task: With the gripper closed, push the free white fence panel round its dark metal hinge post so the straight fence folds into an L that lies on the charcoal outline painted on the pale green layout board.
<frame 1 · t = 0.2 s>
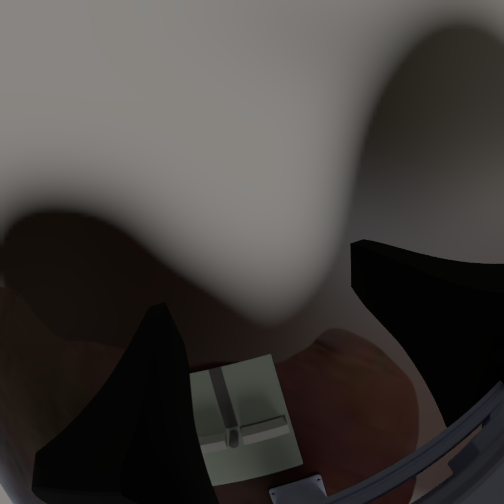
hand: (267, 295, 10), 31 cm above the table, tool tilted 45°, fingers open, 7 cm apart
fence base: (234, 432, 34), resting on layout board
layout board: (211, 430, 34), on the table
fence panel: (193, 446, 30), point 3 cm above the table, hinge at 0.0°
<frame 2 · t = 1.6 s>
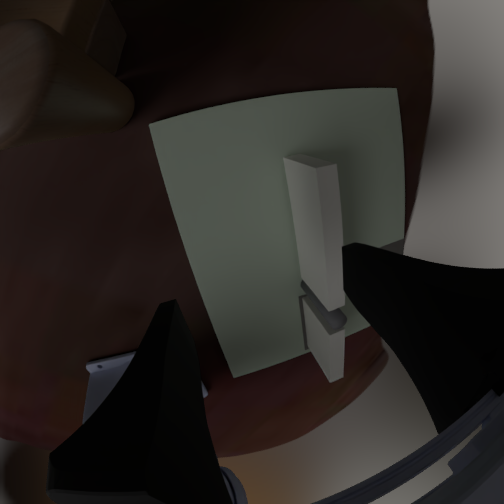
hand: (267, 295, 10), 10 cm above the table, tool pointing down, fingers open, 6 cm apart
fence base: (303, 278, 23), resting on layout board
layout board: (311, 241, 22), on the table
fence panel: (316, 231, 17), point 3 cm above the table, hinge at 0.0°
wooden toy: (36, 83, 12), on the table
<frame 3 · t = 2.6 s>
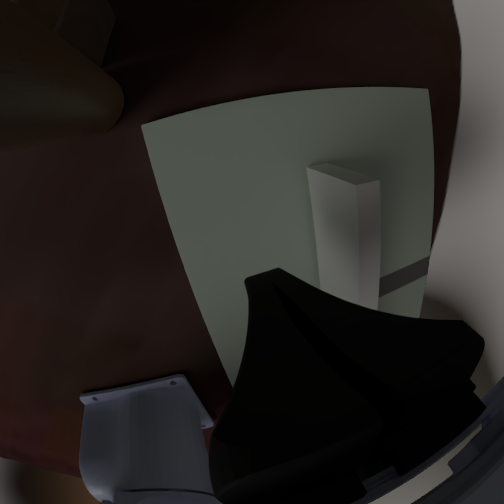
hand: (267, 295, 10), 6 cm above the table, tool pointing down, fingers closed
layout board: (332, 263, 19), on the table
fence panel: (345, 257, 14), point 3 cm above the table, hinge at 0.0°
wooden toy: (10, 79, 9), on the table
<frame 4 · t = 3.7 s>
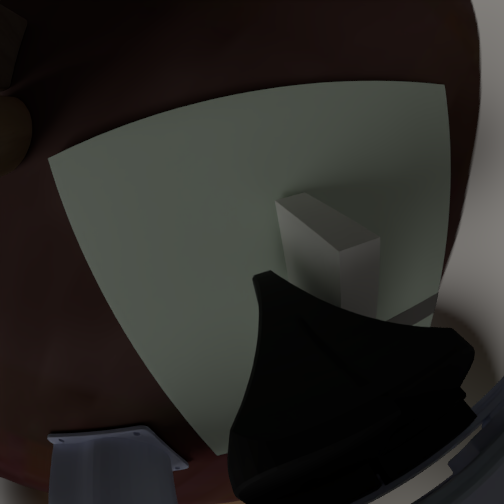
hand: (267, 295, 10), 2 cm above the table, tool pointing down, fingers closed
layout board: (316, 313, 15), on the table
fence panel: (327, 325, 10), point 3 cm above the table, hinge at 0.3°, touching gripper
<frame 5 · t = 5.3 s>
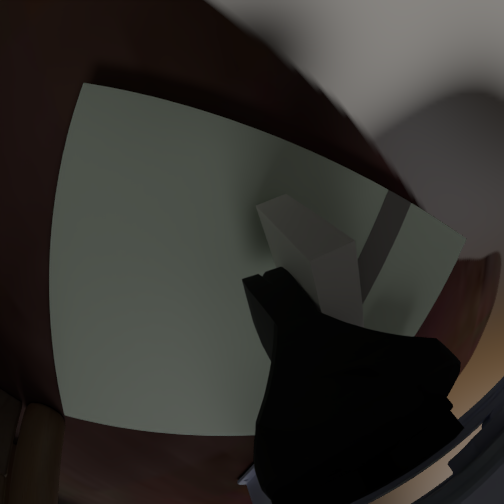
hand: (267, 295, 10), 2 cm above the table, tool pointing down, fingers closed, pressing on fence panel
layout board: (271, 335, 15), on the table
fence panel: (321, 325, 10), point 3 cm above the table, hinge at 51.1°, touching gripper
wooden toy: (15, 426, 14), on the table
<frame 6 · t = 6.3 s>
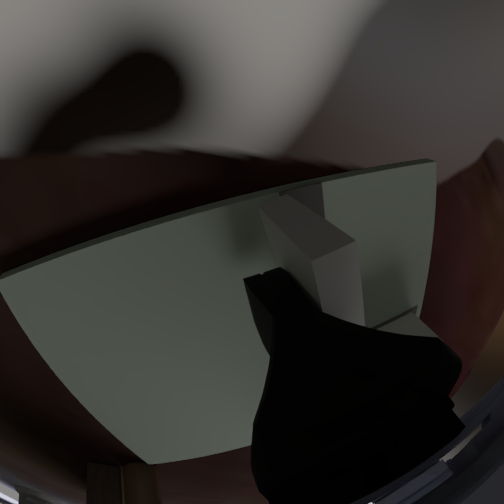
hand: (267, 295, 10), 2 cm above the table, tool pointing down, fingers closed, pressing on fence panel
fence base: (310, 352, 16), resting on layout board
layout board: (259, 358, 15), on the table
fence panel: (322, 325, 10), point 3 cm above the table, hinge at 82.5°, touching gripper
wooden toy: (128, 483, 20), on the table
grey box grater: (45, 499, 22), on the table
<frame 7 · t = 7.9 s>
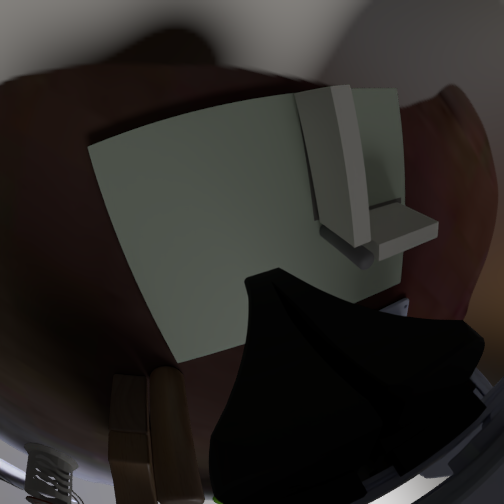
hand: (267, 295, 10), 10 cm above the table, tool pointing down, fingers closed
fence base: (321, 226, 21), resting on layout board
layout board: (283, 224, 21), on the table
fence panel: (334, 163, 16), point 3 cm above the table, hinge at 87.1°
wooden toy: (149, 409, 26), on the table
grey box grater: (55, 459, 27), on the table
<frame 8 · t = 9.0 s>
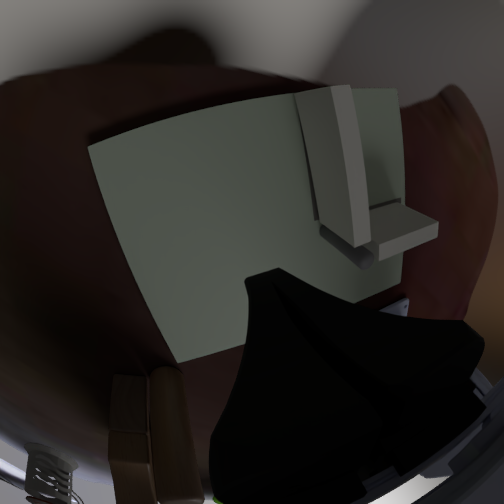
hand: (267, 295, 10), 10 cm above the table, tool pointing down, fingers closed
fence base: (321, 226, 21), resting on layout board
layout board: (283, 224, 21), on the table
fence panel: (334, 163, 16), point 3 cm above the table, hinge at 87.1°
wooden toy: (149, 409, 26), on the table
grey box grater: (55, 459, 27), on the table
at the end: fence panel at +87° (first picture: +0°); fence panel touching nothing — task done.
